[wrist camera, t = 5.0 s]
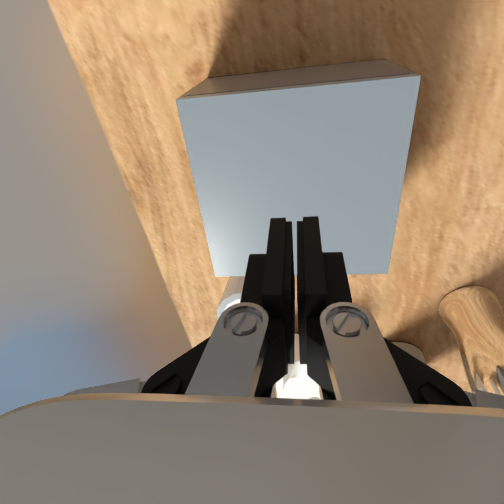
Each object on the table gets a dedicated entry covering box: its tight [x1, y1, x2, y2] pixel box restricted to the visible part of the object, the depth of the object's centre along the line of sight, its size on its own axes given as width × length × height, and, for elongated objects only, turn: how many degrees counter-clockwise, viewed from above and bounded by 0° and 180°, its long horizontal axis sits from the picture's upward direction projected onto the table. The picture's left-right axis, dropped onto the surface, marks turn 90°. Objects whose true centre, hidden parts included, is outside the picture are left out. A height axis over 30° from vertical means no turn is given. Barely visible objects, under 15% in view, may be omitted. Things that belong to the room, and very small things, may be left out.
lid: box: [176, 73, 421, 277], centre depth 24 cm, size 14×14×1 cm
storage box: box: [181, 59, 415, 97], centre depth 27 cm, size 14×14×8 cm
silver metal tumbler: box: [438, 286, 504, 395], centre depth 32 cm, size 7×7×15 cm
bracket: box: [276, 334, 321, 400], centre depth 44 cm, size 13×7×8 cm, turn 3°
